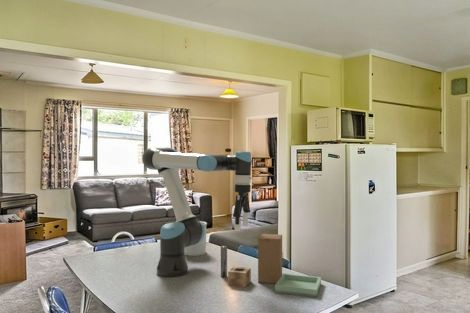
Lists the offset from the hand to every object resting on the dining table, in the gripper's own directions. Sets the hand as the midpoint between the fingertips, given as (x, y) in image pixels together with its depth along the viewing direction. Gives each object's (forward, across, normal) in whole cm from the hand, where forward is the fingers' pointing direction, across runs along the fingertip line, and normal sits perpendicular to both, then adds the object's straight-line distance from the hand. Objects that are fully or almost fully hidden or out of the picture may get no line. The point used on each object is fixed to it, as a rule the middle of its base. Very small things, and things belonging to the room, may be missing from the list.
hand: (241, 228), depth 181 cm
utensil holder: (+24, +33, +38) cm, 55 cm away
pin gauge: (+22, -4, +7) cm, 24 cm away
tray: (+21, -10, -29) cm, 37 cm away
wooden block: (+22, -3, -15) cm, 27 cm away
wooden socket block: (+22, -12, -3) cm, 25 cm away
